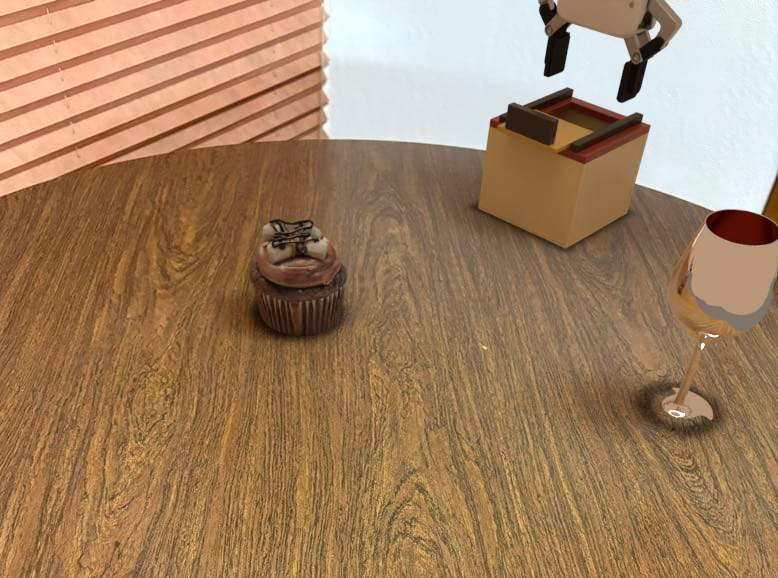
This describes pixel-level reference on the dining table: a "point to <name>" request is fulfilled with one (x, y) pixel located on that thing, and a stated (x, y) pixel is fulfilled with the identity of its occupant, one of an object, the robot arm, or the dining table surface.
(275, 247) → the cupcake
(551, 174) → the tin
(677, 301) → the wineglass
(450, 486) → the dining table surface
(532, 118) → the slider
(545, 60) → the robot arm
